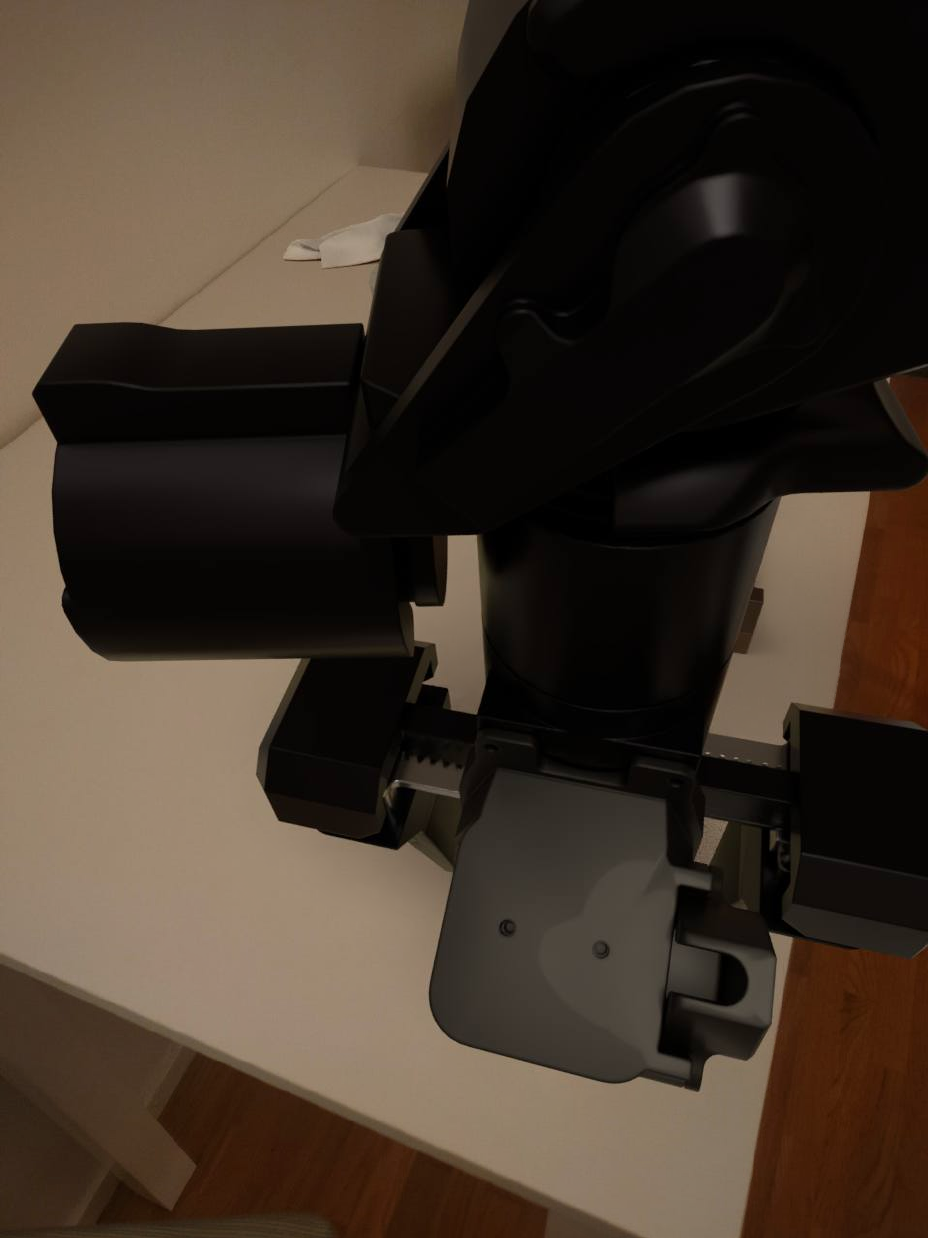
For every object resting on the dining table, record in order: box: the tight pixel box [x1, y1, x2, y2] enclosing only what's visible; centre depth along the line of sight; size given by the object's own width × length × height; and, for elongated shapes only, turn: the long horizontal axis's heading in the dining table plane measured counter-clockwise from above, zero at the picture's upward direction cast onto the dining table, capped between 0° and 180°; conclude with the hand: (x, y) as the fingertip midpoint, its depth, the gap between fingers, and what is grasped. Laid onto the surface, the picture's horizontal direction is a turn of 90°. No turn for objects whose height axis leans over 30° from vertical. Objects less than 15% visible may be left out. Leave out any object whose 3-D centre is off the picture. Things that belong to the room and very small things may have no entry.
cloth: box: [282, 209, 407, 270], centre depth 92 cm, size 26×14×2 cm, turn 80°
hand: (575, 887), depth 30 cm, fingers open, 9 cm apart
